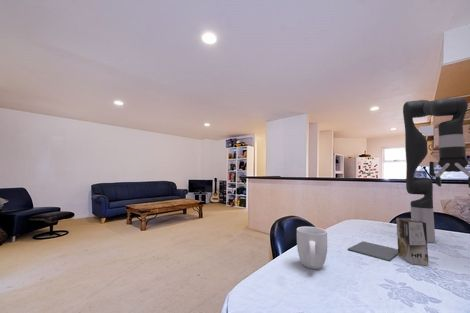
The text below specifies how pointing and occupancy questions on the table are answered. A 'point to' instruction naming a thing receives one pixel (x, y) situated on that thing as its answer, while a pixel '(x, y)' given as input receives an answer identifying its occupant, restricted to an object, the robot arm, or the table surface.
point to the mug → (312, 246)
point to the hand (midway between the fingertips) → (454, 186)
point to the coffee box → (412, 241)
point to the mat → (375, 250)
